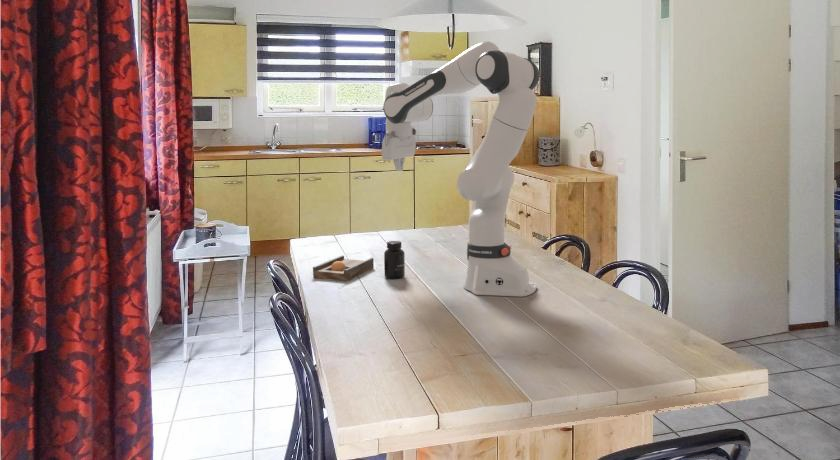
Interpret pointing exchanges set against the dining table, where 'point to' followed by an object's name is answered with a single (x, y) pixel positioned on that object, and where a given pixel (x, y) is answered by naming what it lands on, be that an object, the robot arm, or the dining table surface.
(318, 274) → the lane
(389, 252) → the supplement bottle
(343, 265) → the ball
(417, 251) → the dining table surface
